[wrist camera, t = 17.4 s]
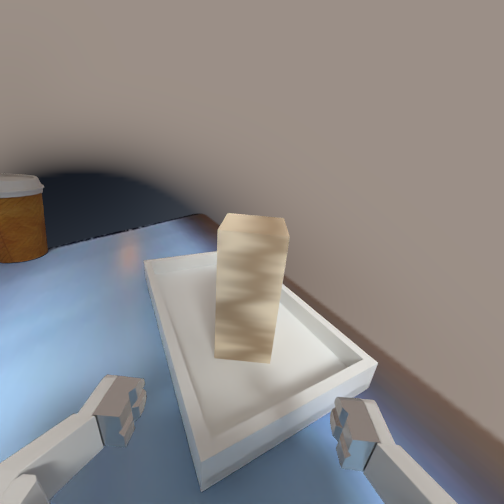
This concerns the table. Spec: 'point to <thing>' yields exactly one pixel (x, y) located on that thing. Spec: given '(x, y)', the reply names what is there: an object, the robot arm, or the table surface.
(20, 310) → the table surface
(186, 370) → the tray
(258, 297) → the ash block
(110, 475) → the table surface
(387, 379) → the table surface
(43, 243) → the disposable coffee cup
